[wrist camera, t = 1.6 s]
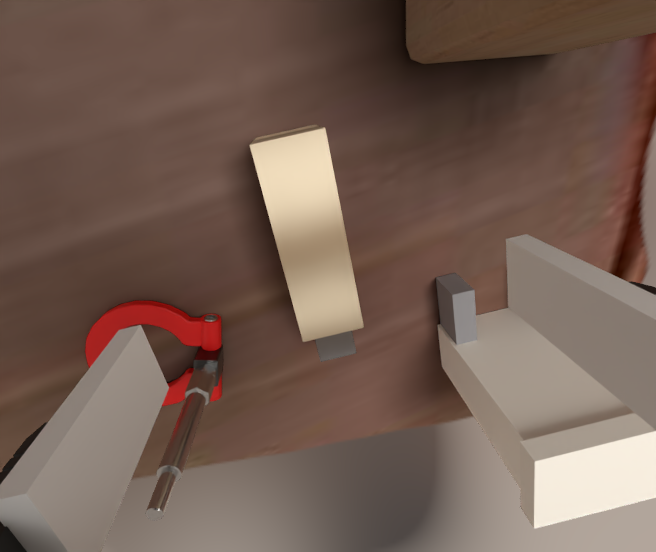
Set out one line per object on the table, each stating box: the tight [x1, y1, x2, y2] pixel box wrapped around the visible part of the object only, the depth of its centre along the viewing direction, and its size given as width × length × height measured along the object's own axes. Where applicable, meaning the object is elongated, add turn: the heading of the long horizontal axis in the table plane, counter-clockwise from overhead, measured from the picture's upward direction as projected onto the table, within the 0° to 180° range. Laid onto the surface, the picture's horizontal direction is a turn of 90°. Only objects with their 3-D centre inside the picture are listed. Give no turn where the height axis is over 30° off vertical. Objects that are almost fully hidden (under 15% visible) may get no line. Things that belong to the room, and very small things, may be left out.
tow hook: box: [85, 301, 223, 520], centre depth 23 cm, size 8×13×9 cm
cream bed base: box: [436, 273, 656, 529], centre depth 24 cm, size 8×9×13 cm
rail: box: [250, 125, 364, 362], centre depth 24 cm, size 14×4×6 cm, turn 12°
